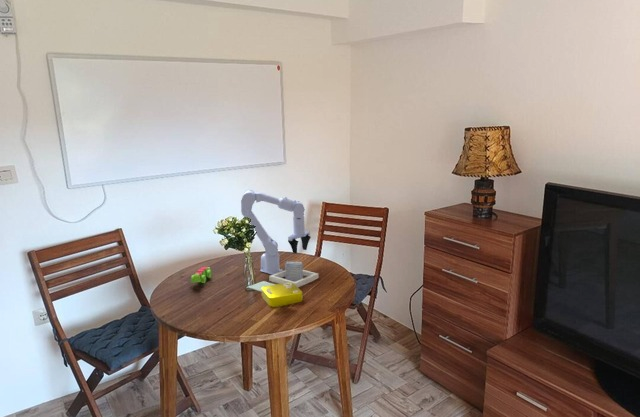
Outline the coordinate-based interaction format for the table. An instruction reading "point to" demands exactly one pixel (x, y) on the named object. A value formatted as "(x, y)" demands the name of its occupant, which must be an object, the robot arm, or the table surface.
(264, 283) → the mat
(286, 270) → the medicine box
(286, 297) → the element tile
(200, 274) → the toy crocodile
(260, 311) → the table surface
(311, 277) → the white square frame
